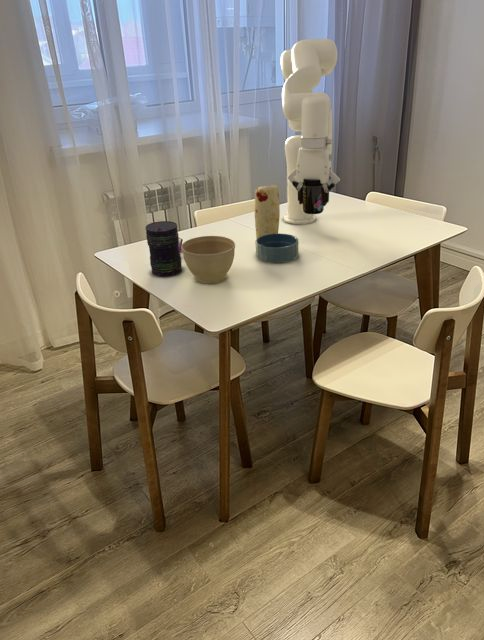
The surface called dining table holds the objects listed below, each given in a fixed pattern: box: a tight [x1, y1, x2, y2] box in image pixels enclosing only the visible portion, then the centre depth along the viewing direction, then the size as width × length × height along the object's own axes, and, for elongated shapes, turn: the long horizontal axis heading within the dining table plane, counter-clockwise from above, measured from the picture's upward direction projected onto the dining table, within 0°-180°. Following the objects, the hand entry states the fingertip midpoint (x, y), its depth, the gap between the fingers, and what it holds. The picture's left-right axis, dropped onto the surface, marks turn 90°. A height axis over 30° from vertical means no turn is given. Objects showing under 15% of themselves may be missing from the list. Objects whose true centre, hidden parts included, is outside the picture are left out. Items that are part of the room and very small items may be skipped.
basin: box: [255, 232, 299, 264], centre depth 180 cm, size 14×14×6 cm
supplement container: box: [302, 179, 325, 215], centre depth 164 cm, size 7×7×10 cm
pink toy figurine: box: [178, 236, 183, 254], centre depth 185 cm, size 7×5×9 cm
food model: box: [254, 184, 281, 240], centre depth 189 cm, size 10×7×20 cm
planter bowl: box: [181, 235, 236, 284], centre depth 164 cm, size 16×16×11 cm
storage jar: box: [145, 220, 183, 278], centre depth 169 cm, size 10×10×15 cm
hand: (313, 203), depth 166 cm, fingers closed on supplement container, 6 cm apart
